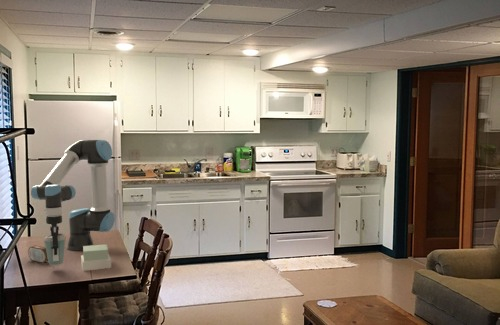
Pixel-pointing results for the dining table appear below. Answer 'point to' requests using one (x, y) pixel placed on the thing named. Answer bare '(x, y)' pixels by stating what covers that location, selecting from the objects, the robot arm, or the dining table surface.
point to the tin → (38, 254)
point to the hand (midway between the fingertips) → (55, 257)
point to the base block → (95, 264)
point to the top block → (95, 252)
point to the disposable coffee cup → (49, 251)
